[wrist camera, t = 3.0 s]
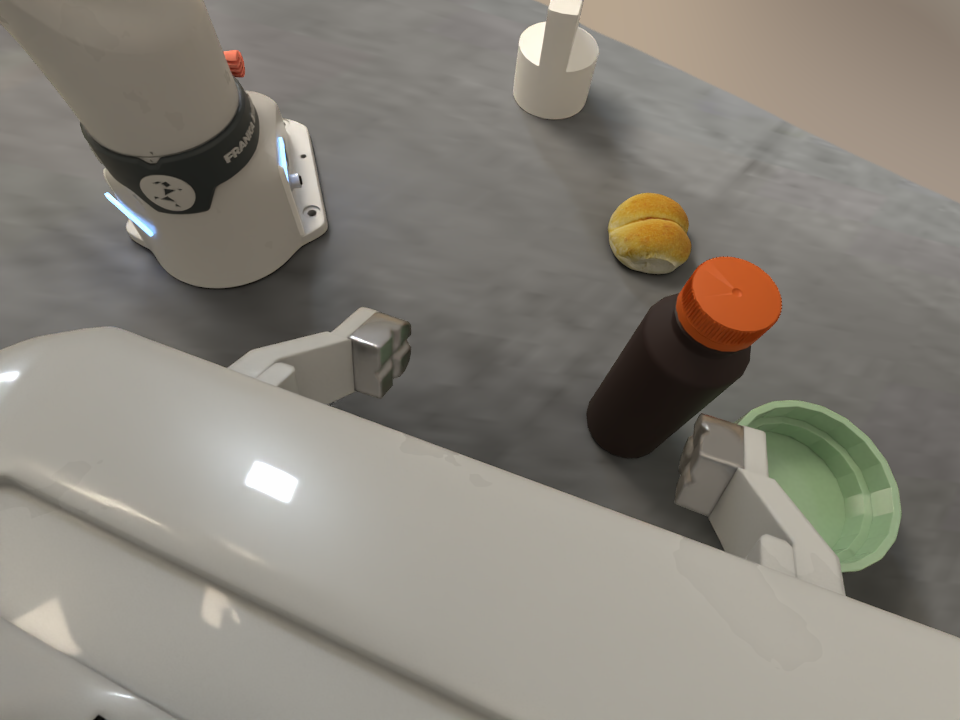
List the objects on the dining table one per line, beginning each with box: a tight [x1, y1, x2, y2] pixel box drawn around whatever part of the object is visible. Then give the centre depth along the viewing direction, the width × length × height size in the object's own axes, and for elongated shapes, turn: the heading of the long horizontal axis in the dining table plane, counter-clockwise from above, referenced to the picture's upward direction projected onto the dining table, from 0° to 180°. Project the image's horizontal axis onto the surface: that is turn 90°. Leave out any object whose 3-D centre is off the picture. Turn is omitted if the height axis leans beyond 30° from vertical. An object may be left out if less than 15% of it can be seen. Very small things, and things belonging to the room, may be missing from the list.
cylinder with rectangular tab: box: [513, 0, 599, 119], centre depth 59 cm, size 9×9×12 cm
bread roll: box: [608, 193, 691, 274], centre depth 54 cm, size 8×9×4 cm
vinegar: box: [587, 256, 782, 458], centre depth 37 cm, size 7×7×20 cm
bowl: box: [734, 400, 902, 573], centre depth 42 cm, size 13×13×5 cm
